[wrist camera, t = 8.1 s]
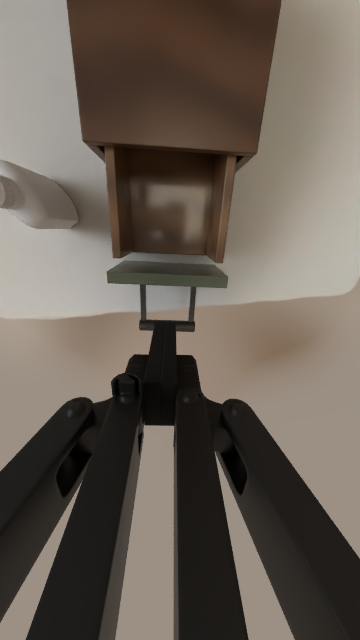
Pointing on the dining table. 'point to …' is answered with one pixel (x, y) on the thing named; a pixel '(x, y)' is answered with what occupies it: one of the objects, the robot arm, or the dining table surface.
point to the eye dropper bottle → (35, 198)
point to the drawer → (168, 218)
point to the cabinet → (173, 73)
